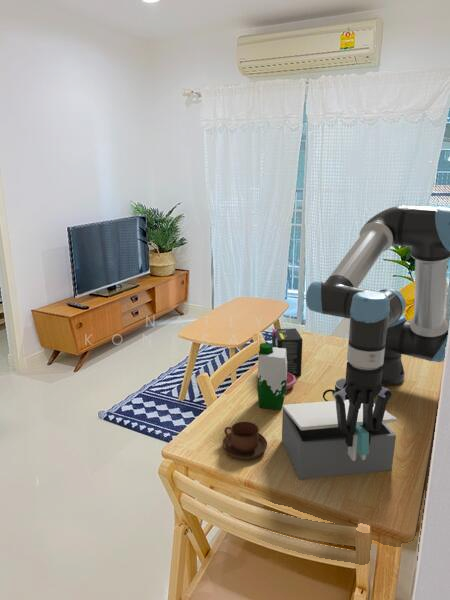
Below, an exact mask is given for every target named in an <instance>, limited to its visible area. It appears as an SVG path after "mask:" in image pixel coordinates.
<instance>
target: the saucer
mask: <svg viewBox="0 0 450 600" xmlns="http://www.w3.org/2000/svg"><path fill="white" fill-rule="evenodd" d="M295 384H296V376H294V375H293V374H291V373H289V372H287V385H286V391H288V390H289V389H291V388H292V387H294V385H295Z"/></svg>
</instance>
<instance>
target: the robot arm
mask: <svg viewBox="0 0 450 600" xmlns="http://www.w3.org/2000/svg"><path fill="white" fill-rule="evenodd" d="M394 246H398V247H405V248H409V255H410V256H411V258H413V259H414V313H413V314H414V316H413V317H412V318H411V319H410V320H407V317H406V315H405V314H404V313H405V311H406V307H407V304H406V303H407V302H406V299H405V297H404V295H403V294H402V293H401V292H400V291H398V290H396V289H394V288H384V289H381V290H373V289H367V288H360V286H361V284H362V282H363V281H364V280H365V279H366V277H367V276H368V275H369V272H371V269H372V268H373V267H374V265H375V263H376V262H377V261H378V260H379V258H380V256H381V254H382V253H384V252H386V251H387V250H389V249H390V248H391V247H394ZM449 259H450V207H444V206H421V205H420V206H415V205H395V206H393V207H389V208H387V209H384V210H382V211H379V212H378V213H377V214H375V215H374V216H372V217H371V218H370V219H368V221H366V223H364V225H363V226H362V227H361V228H360V232H359V237H358V239H357V240H356V241H355V242H354V243H353V245H352V246H351V248H350V249H349V250H348V251H347V253H346V254H345V255H344V256H343V258H342V259H341V261H340V262H339V264H338V265H337V266H336V267H335V269H334V270H333V271H332V273H331V274H330V276H329V277H328V278H327V279H326V280H325V282H324V281H314V282H311V283H310V284H309V286H308V287H307V291H306V293H305V294H306V295H305V302H306V307H307V308H308V309H309V310H310V311H312V312H315V313H318V314H322V315H327V316H328V315H329V316H334V317H338V318H342V319H343V318H344V319H349V329H348V330H349V331H348V333H349V334H348V345H347V357H346V361H347V362H346V370H345V378H346V382H345V384H344V386H343V389H342V390H340V391H338V392H337V391H335V390H334V391H333V392H331V394H332V396H333V398H334V401H336V410H337V421H338V427H339V429H340V430H341V432H342V433H343V434H346V438H345V442H346V444H347V446H348V455H349V456H350V458H351V459H352V461H356V450H357V439H358V435H357V434H356V433H355V429H356V423H357V418H358V412H359V409H360V408H361V404H362V403H363V428H364V429H365V430H366V431H367V432H369V444H370V440H371V436H373V435H374V432H373V431H374V430H376V431H378V430H380V428H381V424H382V420H383V417H384V413H385V411H386V409H387V405H388V402H389V400H390V398H391V397H392V395H393V392H392V391H391V390H390V389H389V388H388V387H387V386H395V385H400V384H402V383H403V382H404V381H405V380H404V379H405V369H404V364H403V361H402V355H404V356H408V357H413V358H416V359H421V360H425V361H429V362H436V363H443V362H444V361H445V360H444V358H445V347H446V342H447V335H448V328H449V327H448V326H449V322H448V320H446V318H444V316H445V304H446V303H445V302H446V286H447V275H448V274H447V273H448V272H447V271H448V260H449ZM346 394H347V395H348V397H349V409H348V415H347V421H346V411H345V403H344V401H345V395H346ZM375 399H376V400H375ZM374 404H375V407H374ZM373 407H374V411H373ZM357 453H358V454H359V456H360V457H361V459H362V460H365V458H366V455H361V454H360V453H359V452H358V451H357Z"/></svg>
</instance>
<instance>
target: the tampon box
mask: <svg viewBox="0 0 450 600" xmlns="http://www.w3.org/2000/svg"><path fill="white" fill-rule="evenodd" d="M300 334H301V333H299V331H298V329H296V328H272V334H271V335H272V336H271V337H272V338H271V344H272V345H273V347H278V348H286V355H287V372H289V373H291V374H293V375H294V376H295V377H298V376H302V363H303V362H302V357H303V356H302V355H303V337H302V336H301V335H300Z"/></svg>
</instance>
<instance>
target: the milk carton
mask: <svg viewBox="0 0 450 600" xmlns="http://www.w3.org/2000/svg"><path fill="white" fill-rule="evenodd" d="M257 360H258V362H257V398H258V408H259V409H268V410H276V409H277V410H276V411H283V405H284V402H285V398H286V397H285V396H286V391H287V390H286V385H287V355H286V348H278V347H273V345H272V343H269V342H263V343H260V344H259V350H258V359H257Z"/></svg>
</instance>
